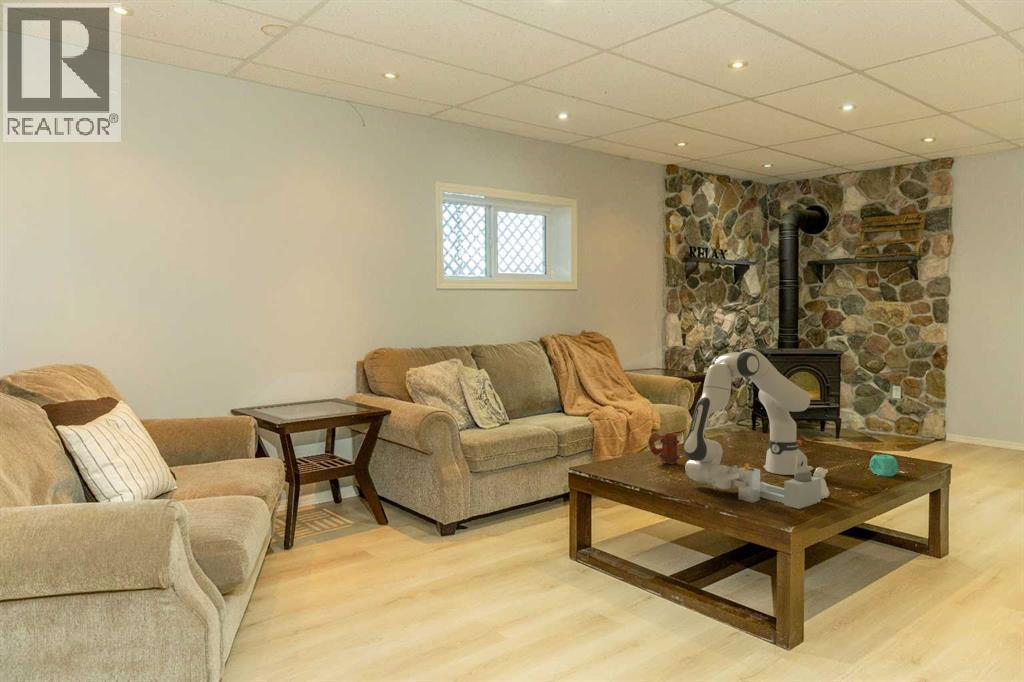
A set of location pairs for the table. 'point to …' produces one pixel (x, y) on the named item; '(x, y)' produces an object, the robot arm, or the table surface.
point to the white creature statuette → (822, 481)
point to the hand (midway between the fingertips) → (751, 483)
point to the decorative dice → (883, 465)
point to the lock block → (749, 484)
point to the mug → (665, 447)
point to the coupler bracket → (795, 490)
